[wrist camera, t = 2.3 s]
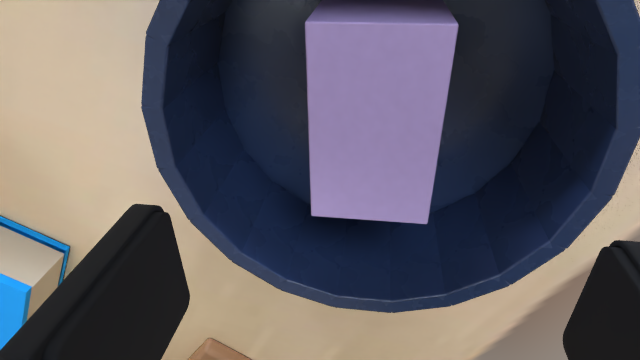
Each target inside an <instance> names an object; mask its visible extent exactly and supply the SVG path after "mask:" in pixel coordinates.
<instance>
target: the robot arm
mask: <svg viewBox="0 0 640 360" xmlns="http://www.w3.org/2000/svg"><path fill="white" fill-rule="evenodd" d="M189 300H190V294H189V289H188V285H187V281H186V277H185V273H184V269H183V265H182V261H181V257H180V254H179V250H178V246H177V242H176V238H175V234H174V230H173V226H172V222H171V218H170V215H169V214H168V213H166V212H164V211H163V209H162V208H161V207H160V206H157V205H144V204H134V205H132V206H131V207H130V208H129V209H128V210H127V211H126V212H125V213H124V214H123V216H122V217H121V218H120V219H119V220H118V221H117V222H116V223H115V224H114V225H113V227H112V228H111V229H110V230H109V231H108V232H107V233H106V234H105V235H104V236H103V238H102V239H101V240H100V241H99V242H98V243H97V244H96V245H95V246H94V247H93V249H92V250H91V251H90V252H89V253H88V254H87V255H86V256H85V257H84V259H83V260H82V261H81V262H80V263H79V264H78V265H77V266H76V267H75V268H74V270H73V271H72V272H71V273H70V274H69V275H68V276H67V277H66V278H65V279H64V281H63V282H62V283H61V284H60V285H59V286H58V287H57V288H56V289H55V290H54V292H53V293H52V294H51V295H50V296H49V297H48V298H47V299H46V300H45V301H44V303H43V304H42V305H41V306H40V307H39V308H38V309H37V310H36V311H35V313H34V314H33V315H32V316H31V317H30V318H29V319H28V320H27V321H26V322H25V324H24V325H23V326H22V327H21V328H20V329H19V330H18V331H17V332H16V333H15V335H14V336H13V337H12V338H11V339H10V340H9V341H8V342H7V343H6V344H5V346H4V347H3V348H2V349H1V350H0V360H161V358H162V356H163V355H164V353H165V351H166V349H167V347H168V345H169V343H170V341H171V339H172V337H173V335H174V333H175V332H176V330H177V328H178V326H179V324H180V322H181V320H182V318H183V316H184V314H185V312H186V310H187V308H188V305H189ZM563 345H564V349H565V352H566V355H567V357H568V360H640V242H633V241H620V240H617V241H614V242H612V243H611V244H610V246H609V247H604V248H602V249H601V251H600V253H599V255H598V257H597V259H596V262H595V264H594V266H593V268H592V270H591V273H590V275H589V277H588V279H587V282H586V284H585V286H584V288H583V291H582V293H581V295H580V297H579V299H578V302H577V304H576V306H575V309H574V311H573V313H572V315H571V317H570V319H569V322H568V324H567V326H566V328H565V331H564V334H563Z"/></svg>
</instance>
